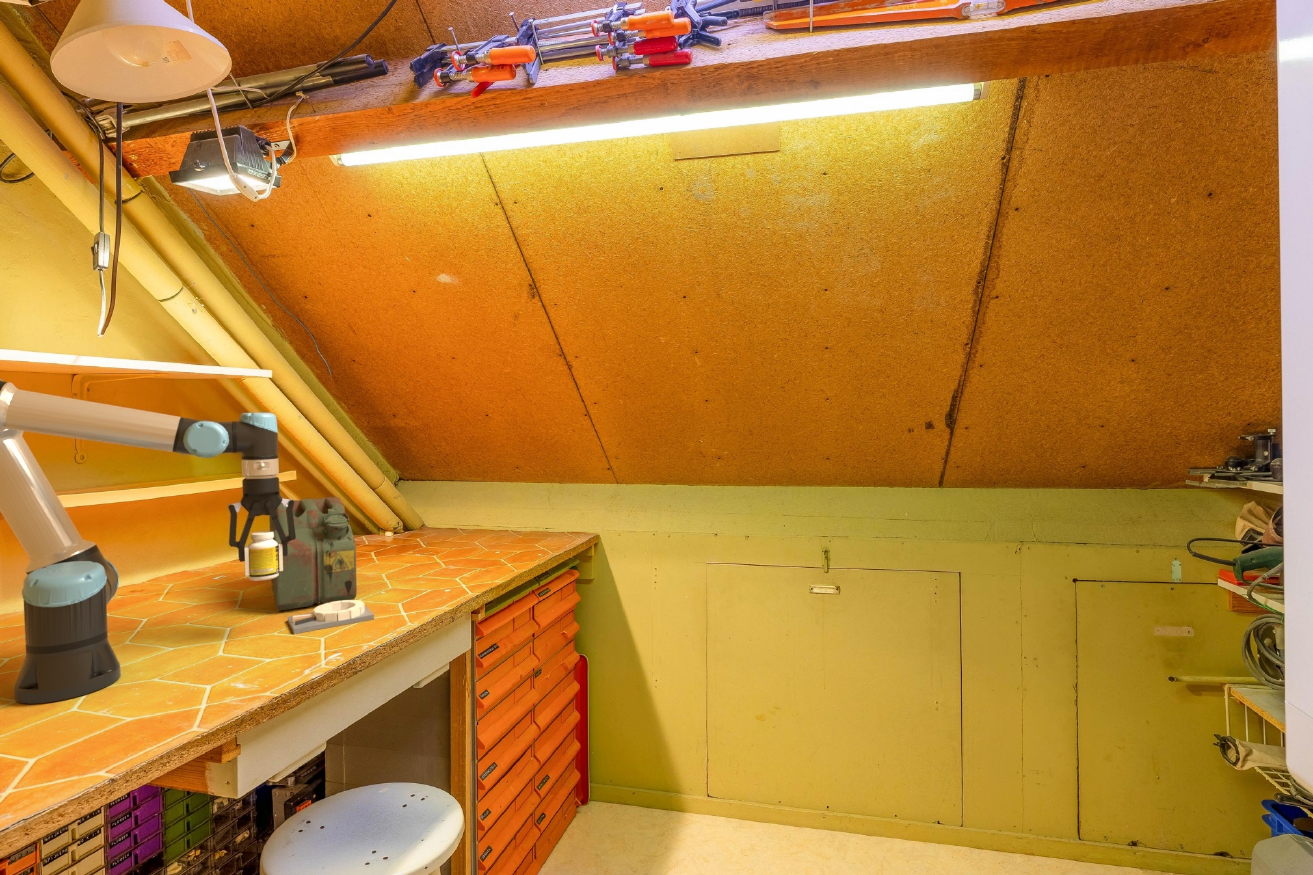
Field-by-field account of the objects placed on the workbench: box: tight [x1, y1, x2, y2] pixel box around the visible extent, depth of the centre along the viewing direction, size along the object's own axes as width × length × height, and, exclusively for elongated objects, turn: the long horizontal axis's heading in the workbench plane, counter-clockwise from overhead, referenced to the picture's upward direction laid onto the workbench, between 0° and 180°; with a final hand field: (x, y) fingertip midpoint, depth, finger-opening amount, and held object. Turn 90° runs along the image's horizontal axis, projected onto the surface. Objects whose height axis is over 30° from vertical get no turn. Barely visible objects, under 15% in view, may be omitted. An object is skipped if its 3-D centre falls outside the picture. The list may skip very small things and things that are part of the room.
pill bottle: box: [247, 530, 279, 582], centre depth 152 cm, size 6×6×11 cm
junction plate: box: [287, 599, 375, 635], centre depth 162 cm, size 18×12×3 cm, turn 127°
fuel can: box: [268, 496, 358, 612], centre depth 185 cm, size 19×35×27 cm, turn 34°
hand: (264, 571), depth 152 cm, fingers closed on pill bottle, 6 cm apart
